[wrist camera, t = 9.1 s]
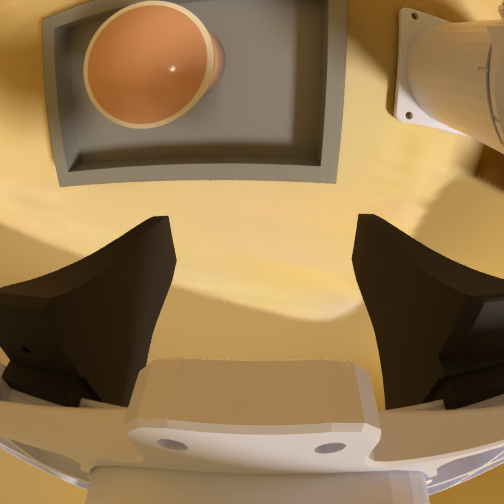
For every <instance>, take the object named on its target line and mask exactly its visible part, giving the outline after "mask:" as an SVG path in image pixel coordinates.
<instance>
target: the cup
mask: <svg viewBox="0 0 504 504" xmlns="http://www.w3.org/2000/svg"><path fill="white" fill-rule="evenodd" d="M225 63H226V58H225V52H224V48H223V46H222V44H221V42H220V41H219V39H218V38H217V37H216V36H215V35H214V34H213V33H212V32H210V31H209V30H208V29H207V28H206V27H205V25H204V24H203V23H202V22H201V20H200V19H199V18H198V17H196V16H195V15H194V14H193V13H191V12H190V11H189V10H187V9H185V8H184V7H182V6H179V5H177V4H174V3H170V2H166V1H144V2H139V3H136V4H132V5H130V6H127V7H125V8H123V9H121V10H120V11H118V12H116V13H115V14H113V15H112V16H111V17H109V18H108V19H107V20H106V21H105V22H104V23H103V24H102V25H101V26H100V28H99V29H98V30H97V32H96V33H95V35H94V36H93V38H92V40H91V42H90V44H89V46H88V49H87V52H86V55H85V60H84V69H83V70H84V82H85V87H86V90H87V93H88V95H89V97H90V99H91V101H92V103H93V104H94V106H95V107H96V108H97V109H98V111H99V112H100V113H102V114H103V115H104V116H105V117H106V118H108V119H109V120H111V121H113V122H115V123H117V124H119V125H122V126H125V127H129V128H137V129H146V128H154V127H158V126H161V125H165V124H167V123H169V122H172V121H174V120H175V119H177V118H179V117H180V116H182V115H183V114H184V113H186V112H187V111H188V110H190V109H191V108H192V107H193V106H194V105H195V104H196V103H197V102H198V101H199V100H200V98H201V97H203V96H205V95H206V94H208V93H209V92H210V91H211V90H212V89H214V88H215V86H216V85H217V84H218V83H219V81H220V79H221V77H222V75H223V73H224V70H225Z"/></svg>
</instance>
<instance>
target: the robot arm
mask: <svg viewBox="0 0 504 504" xmlns="http://www.w3.org/2000/svg"><path fill="white" fill-rule="evenodd" d="M498 11H499V13H500V15H501V18H502V20H484V21H470V22H459V23H452V22H449V21H447V20H444V19H441V18H439V17H436V16H433V15H430V14H427V13H424V12H421V11H418V10H415V9H411V8H408V7H404V8H401V9H400V10H399V44H398V66H397V81H396V93H395V104H394V116H395V118H396V119H397V120H399V121H401V122H407V123H412V124H417V125H422V126H427V127H431V128H436V129H440V130H445V131H449V132H453V133H457V134H461V135H465V136H469V137H472V138H474V139H476V140H478V141H480V142H482V143H484V144H486V145H488V146H490V147H492V148H493V149H495V150H497V151H499V152H501V153H503V154H504V0H503V1H502V5H500V6H499V7H498ZM412 13H413V14H415V16H416V19H413V18H412ZM407 112H409V113H410V117H409V118H406V113H407ZM176 261H177V260H176V255H175V249H174V244H173V239H172V234H171V228H170V222H169V217H168V216H154V217H151V218H149V219H147V220H145V221H144V222H142V223H141V224H139V225H137V226H136V227H134V228H133V229H131V230H130V231H128V232H127V233H125V234H124V235H122V236H121V237H119V238H117V239H116V240H114V241H113V242H111V243H109V244H108V245H106V246H105V247H103V248H101V249H100V250H98V251H96V252H94V253H93V254H91V255H89V256H87V257H85V258H83V259H81V260H79V261H77V262H75V263H73V264H71V265H68V266H66V267H64V268H61V269H59V270H57V271H54V272H52V273H49V274H46V275H44V276H41V277H38V278H35V279H32V280H28V281H24V282H20V283H17V284H12V285H9V286H4V287H2V288H0V347H1V348H2V349H3V351H4V352H5V353H6V355H7V356H8V358H9V359H10V362H9V364H8V365H7V367H6V366H5V365H4V364H2V363H0V448H1V449H3V450H5V451H6V452H8V453H10V454H12V455H14V456H15V457H17V458H19V459H21V460H23V461H25V462H27V463H29V464H30V465H32V466H34V467H37V468H38V469H41V470H43V471H45V472H47V473H49V474H51V475H53V476H55V477H58V478H60V479H62V480H64V481H66V482H69V483H71V484H73V485H76V486H78V487H81V488H84V489H86V490H88V493H87V497H86V501H85V504H430V502H429V495H431V494H434V493H437V492H439V491H442V490H445V489H447V488H450V487H452V486H455V485H457V484H460V483H462V482H464V481H466V480H469V479H471V478H473V477H475V476H478V475H480V474H482V473H484V472H486V471H488V470H490V469H492V468H494V467H496V466H498V465H500V464H502V463H504V279H501V278H498V277H494V276H491V275H488V274H485V273H482V272H479V271H477V270H474V269H471V268H469V267H467V266H464V265H462V264H460V263H457V262H455V261H453V260H451V259H449V258H447V257H445V256H443V255H441V254H439V253H437V252H435V251H433V250H431V249H430V248H428V247H426V246H425V245H423V244H421V243H420V242H418V241H416V240H415V239H413V238H412V237H410V236H409V235H407V234H405V233H404V232H402V231H401V230H399V229H398V228H396V227H395V226H393V225H392V224H390V223H389V222H387V221H385V220H384V219H382V218H380V217H379V216H377V215H374V214H359V215H358V222H357V229H356V235H355V242H354V248H353V254H352V263H353V268H354V272H355V276H356V280H357V283H358V286H359V289H360V291H361V294H362V297H363V300H364V302H365V305H366V308H367V311H368V313H369V316H370V319H371V322H372V325H373V328H374V332H375V336H376V340H377V345H378V350H379V356H380V362H381V369H382V375H383V384H384V394H385V409H386V410H377V406H376V401H375V397H374V392H373V388H372V385H371V380H370V375H369V373H368V372H366V371H365V370H363V369H361V368H360V367H359V366H357V365H356V364H354V363H353V362H349V361H342V360H333V359H324V358H319V359H318V358H317V359H286V360H239V359H208V358H188V357H180V358H171V359H160V360H155V361H152V362H151V363H150V364H148V365H147V366H146V363H147V358H148V352H149V348H150V343H151V339H152V334H153V331H154V328H155V325H156V322H157V319H158V316H159V314H160V311H161V308H162V306H163V304H164V301H165V298H166V295H167V293H168V290H169V288H170V285H171V282H172V279H173V275H174V270H175V266H176Z"/></svg>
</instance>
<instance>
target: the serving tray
mask: <svg viewBox="0 0 504 504" xmlns="http://www.w3.org/2000/svg"><path fill="white" fill-rule="evenodd" d="M144 1H166V2H170V3H174V4H177V5H179V6H182V7H184V8H185V9H187V10H189V11H190V12H191V13H193V14H194V15H195V16H196V17H198V18H199V19H200V20H201V22H202V23H203V24H204V25H205V27H206V28H207V29H208V30H209V31H210V32H212V33H213V34H214V35H215V36H216V37H217V38H218V39H219V41H220V42H221V44H222V46H223V48H224V52H225V58H226V63H225V70H224V73H223V75H222V77H221V79H220V81H219V83H218V84H217V85H216V86H215V88H214V89H212V90H211V91H210V92H209V93H208V94H206V95H205V96H203V97H201V98H200V100H199V101H198V102H197V103H196V104H195V105H194V106H193V107H192V108H191V109H190V110H188V111H187V112H186V113H184V114H183V115H182V116H180V117H179V118H177V119H175V120H174V121H172V122H169V123H167V124H165V125H161V126H158V127H154V128H146V129H137V128H129V127H125V126H122V125H119V124H117V123H115V122H113V121H111V120H109V119H108V118H106V117H105V116H104V115H103V114H102V113H100V112H99V111H98V109H97V108H96V107H95V106H94V104H93V103H92V101H91V99H90V97H89V95H88V93H87V90H86V87H85V82H84V70H83V69H84V60H85V55H86V52H87V49H88V46H89V44H90V42H91V40H92V38H93V36H94V35H95V33H96V32H97V30H98V29H99V28H100V26H101V25H102V24H103V23H104V22H105V21H106V20H107V19H108V18H109V17H111V16H112V15H113V14H115V13H116V12H118V11H120V10H121V9H123V8H125V7H127V6H130V5H132V4H136V3H139V2H144ZM346 45H347V0H94V1H91V2H88V3H85V4H82V5H79V6H76V7H73V8H70V9H68V10H65V11H62V12H60V13H57V14H55V15H52V16H50V17H48V18H45V19H43V72H44V87H45V98H46V108H47V116H48V124H49V131H50V138H51V144H52V150H53V156H54V161H55V166H56V171H57V176H58V181H59V185H60V187H66V186H78V185H91V184H105V183H122V182H143V181H173V180H261V181H292V182H314V183H331V184H336V178H337V169H338V160H339V150H340V140H341V129H342V117H343V104H344V89H345V70H346Z"/></svg>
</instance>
